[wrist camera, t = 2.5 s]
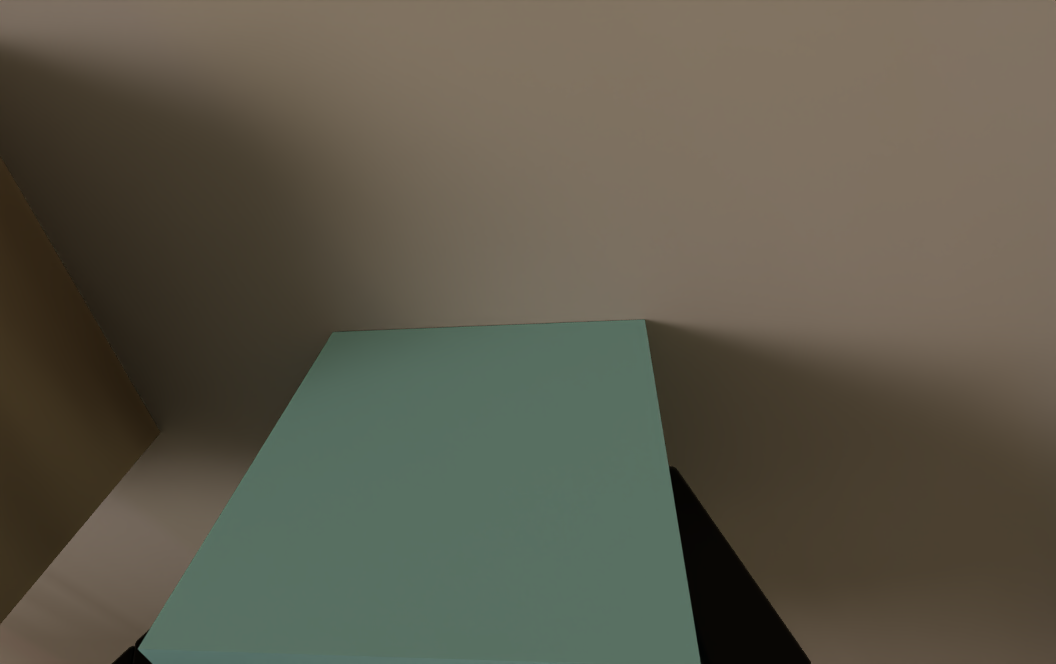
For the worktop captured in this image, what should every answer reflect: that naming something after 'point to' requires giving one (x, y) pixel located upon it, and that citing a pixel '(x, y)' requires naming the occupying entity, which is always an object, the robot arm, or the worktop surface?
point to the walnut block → (53, 404)
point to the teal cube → (450, 511)
